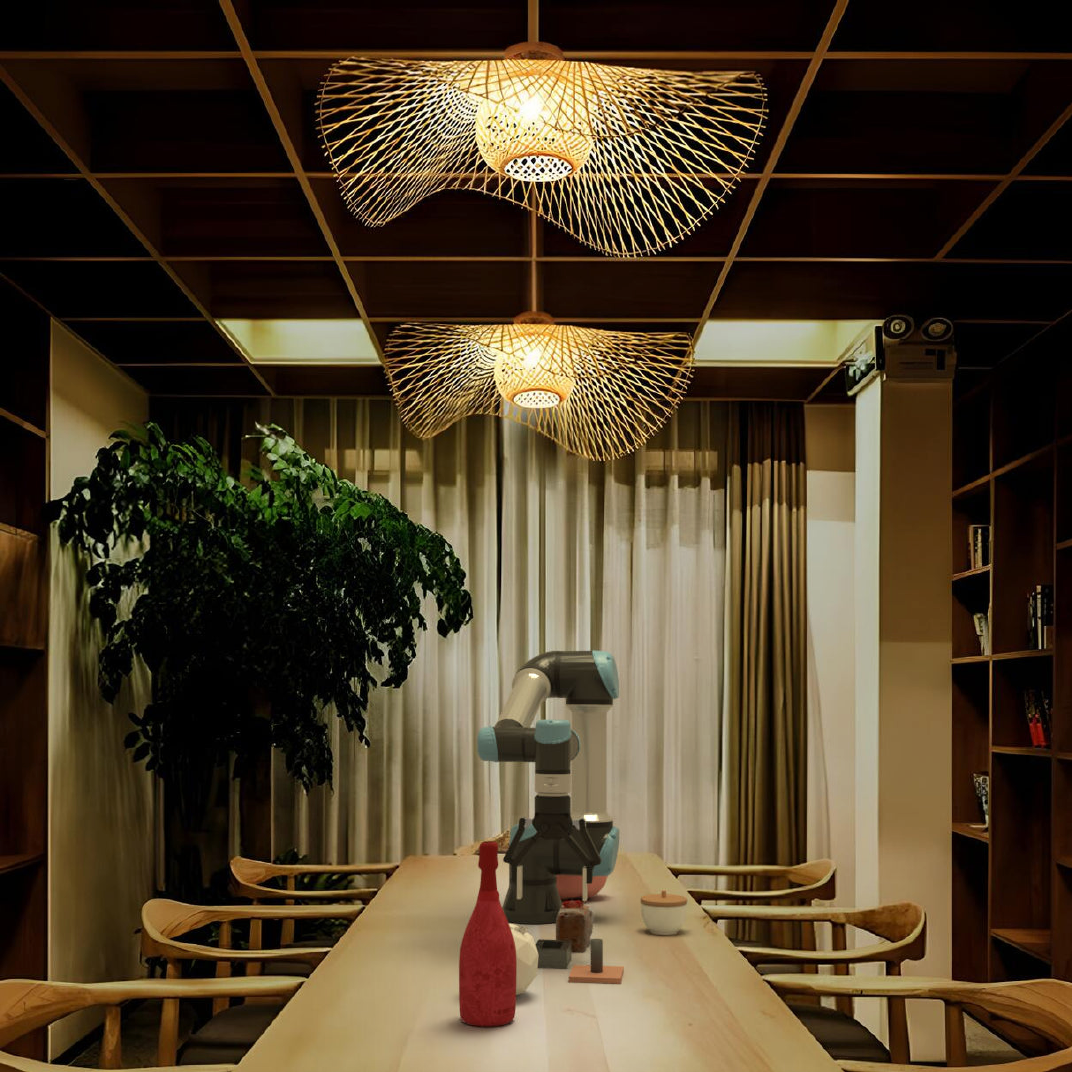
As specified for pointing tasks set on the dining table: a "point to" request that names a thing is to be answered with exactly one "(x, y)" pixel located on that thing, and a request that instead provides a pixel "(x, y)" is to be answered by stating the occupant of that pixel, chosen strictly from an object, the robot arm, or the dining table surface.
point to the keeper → (596, 968)
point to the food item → (574, 924)
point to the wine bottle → (487, 953)
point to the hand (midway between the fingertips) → (552, 899)
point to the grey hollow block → (554, 953)
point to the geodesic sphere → (524, 958)
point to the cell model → (578, 886)
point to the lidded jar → (663, 912)
